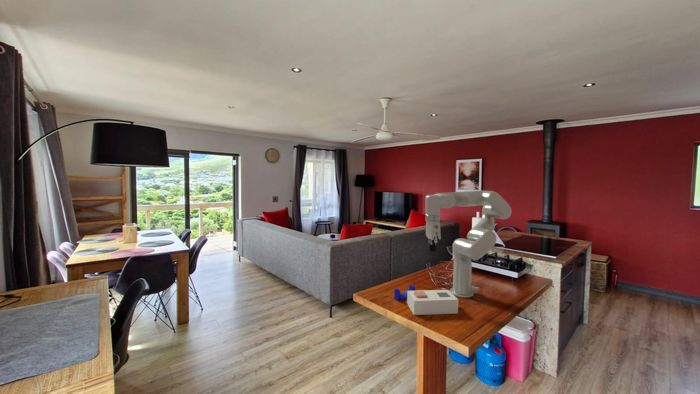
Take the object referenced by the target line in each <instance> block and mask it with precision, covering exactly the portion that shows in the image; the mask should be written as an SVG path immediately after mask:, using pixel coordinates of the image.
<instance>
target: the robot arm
mask: <svg viewBox="0 0 700 394" xmlns="http://www.w3.org/2000/svg"><path fill="white" fill-rule="evenodd" d="M424 201H425V204H424V205H425V207H424V208H425V209H424V210H425V211H424V214H425V215H424V216H425V219H424V220H425V222H426V223H425V236H426V238H427V239H428V252H430V253H435V252H436V251H437V243H438V240H439V241H440V240H441V239H442V238H441V237H442V236H441V232H442V231H441V222H440V221H441V209H450V208H451V209H452V208H453V207H454V206H456V207H461V208H462V207H468V208H469V207H476V206H483V207H482V209H481V219H480V221H479V222H478V223H477V224H475V225H474V226H473V227H472V228H471V229H470V230H469V231H468V233H467V235H466V238H462V237H461V238H460V237H459V238H456V239H455V240H453V243H452V253H453V255H452V256H453V274H452V275H453V276H452V280H453V281H452V287H451V288H450V289H449V291H450V292H451V293H452V294H453V295H454V296H455V297H458V298H463V299H464V298H472V297H473V296H474V291H477V292H478V291H480V287H479V286H475V285H472V268H473V266H472V265H473V264H472V260H473V261H478V260H480V259H481V258H483V257H484V256H485V255H486V254H487V253H488V252H489V251H490V250H491V249H492V248H493V247H494V246H495V244H496V243H497V235H496V233H495V232H494V230H495V227H496V224H495V219H500V220H507V219H509V218H510V217H511V215H512V211H513V210H512V207H511V206H510V205H509V203H508V202H507V201H506V200H505V199H504V197H502V196H501V195H500V194H499V193H498V192H497V191H494V190H484V189H483V190H482V189H481V190H467V191H466V190H465V191H453V192H452V191H451V192H450V191H448V192H437V193H434V194H427V195H426V196H425V199H424Z"/></svg>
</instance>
